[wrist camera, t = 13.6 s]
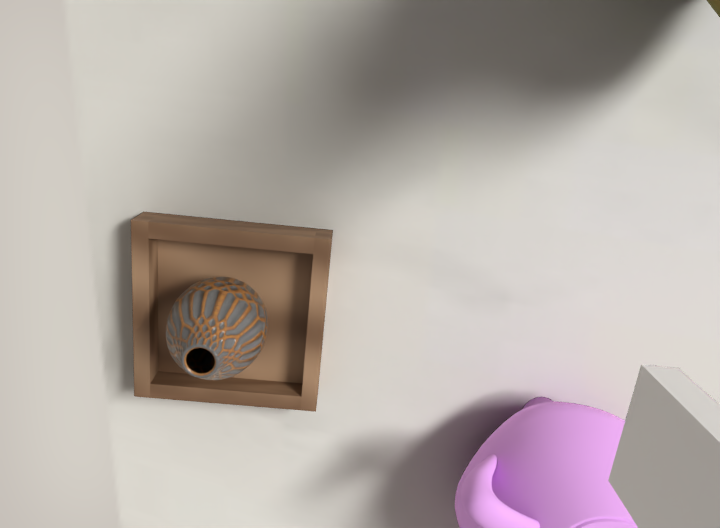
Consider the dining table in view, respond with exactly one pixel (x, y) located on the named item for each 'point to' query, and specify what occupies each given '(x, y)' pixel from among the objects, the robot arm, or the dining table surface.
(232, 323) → the vase
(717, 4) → the vase
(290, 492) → the dining table surface
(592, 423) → the teapot
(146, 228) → the walnut tray
